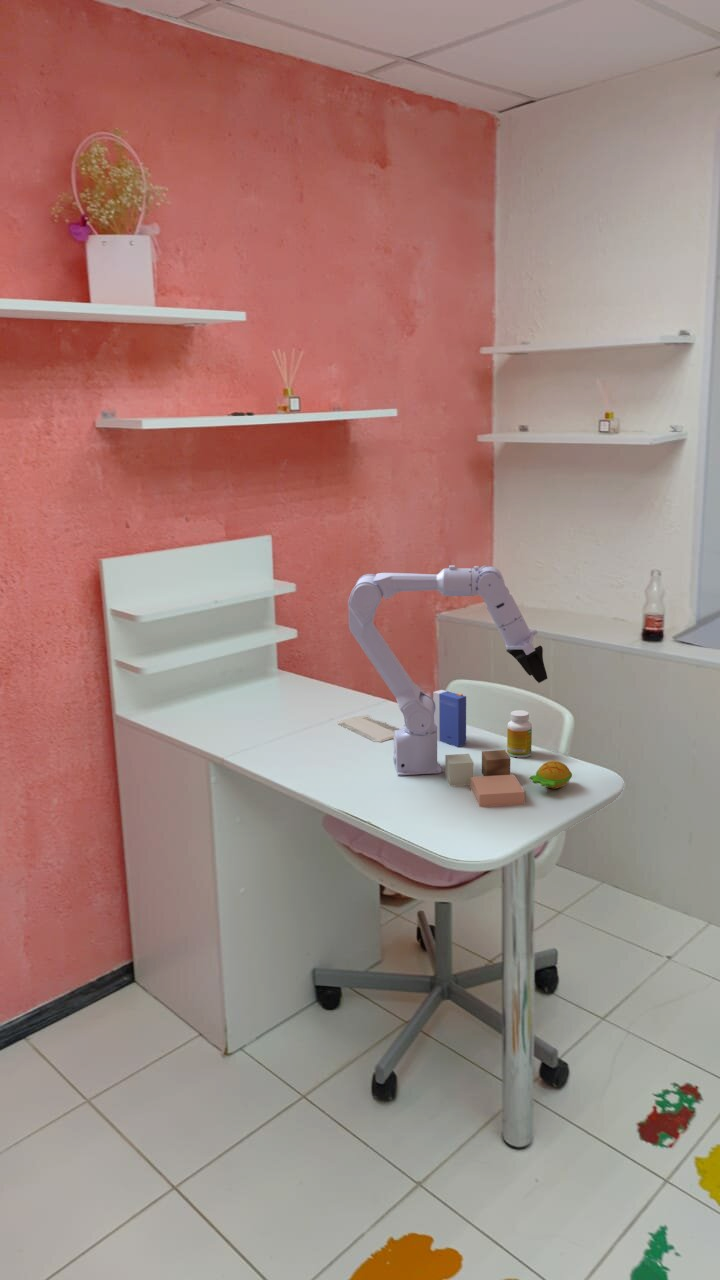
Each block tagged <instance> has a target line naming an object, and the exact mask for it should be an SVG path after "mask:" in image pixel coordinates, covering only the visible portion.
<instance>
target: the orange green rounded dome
mask: <svg viewBox="0 0 720 1280" xmlns="http://www.w3.org/2000/svg"><path fill="white" fill-rule="evenodd" d="M572 776H573V774H572V772H571V770H570V768H569V767H568V765H566V764H565V763H563V762H561V761H559V760H551V761H546V762H545V763H543V764H542V765H540V767H538V769H537V770H536V773H535V775H530V776H529V780H531V782H532V783H533V784H540V785H541V787H546V788H549V789H558V788H559V789H560V788H562V787H564V786H566V784H568V783H569V782H570V780H571V779H572Z"/></svg>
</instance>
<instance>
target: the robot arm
mask: <svg viewBox="0 0 720 1280" xmlns="http://www.w3.org/2000/svg"><path fill="white" fill-rule="evenodd" d="M421 591H422V592H423V591H425V592H426V591H437V592H439V593H440V594H441V595H442V596H443V597H475V596H477V595H478V596H479V597H481V598H482V599H483V601H484V603H485V604H486V609H487V611H488V613H489V615H490V616H491V618H492V620H493V622H494V625H495V626H496V628H497V630H498V633H499V634H500V636H501V637H502V640H503V642H504V643H505V648H506V652H507V653H508V654H510V655H511V656H512V657H514V659H515V660H516V661H517V662H518V663H519V665H520V666H521V668H522V669H523V670H524V671H525V672H526V674H527V675H528V676H532V677H533V679H534V680H535V681H536V682H537V683H538V684H540V683H542V682H544V681H546V680H548V673H547V670H546V667H545V664H544V658H543V656H544V655H543V652H544V649H543V646H542V645H538V646H536V647H534V645H533V640H534V637H535V635H538V631H537V629H532V630H530V628H529V627H528V625H527V622H526V620H525V618H524V616H523V614H522V612H521V610H520V609H519V606H518V604H517V603H516V601H515V599H514V597H513V595H512V594H511V593H510V590H509V588H508V586H506V584H505V580H504V577H503V575H502V572H501V571H500V570H499V569H498V568H497V567H495V566H490V565H487V564H486V565H483V566H481V567H480V566H479V565H474V566H473V567H472V568H469V567H467V568H465V567H463V568H461V567H457V568H456V565H454V564H453V565H449V566H448V567H446V568H442V569H441V570H440V571H439V572H438V573H436V574H432V573H429V574H428V573H405V572H380V573H376V574H374V573H367V574H363V575H362V576H360V577H359V578H358V579H357V581H356V583H355V585H354V587H353V588H352V590H351V592H350V595H349V597H348V600H347V606H348V629H349V631H350V634H351V635H352V636H353V637H354V639H355V641H356V642H357V644H358V645H359V646H360V648H361V649H362V651H363V652H364V654H365V656H366V657H367V658H368V659H369V661H370V663H371V664H372V665H373V667H374V668H375V670H376V671H377V673H378V674H379V676H380V677H381V679H382V680H383V682H384V683H385V685H386V686H387V687H388V688H389V690H390V692H391V693H392V695H393V696H394V698H395V699H396V702H397V704H398V705H397V706H398V708H399V710H400V712H401V713H402V716H403V720H404V721H403V722H404V725H403V728H400V729H401V730H395V731H394V739H393V758H392V759H393V765H394V768H395V771H396V773H397V776H411V775H412V776H414V775H430V774H431V775H432V774H442V769H441V768H442V767H440V764H439V761H438V741H437V726H436V725H435V723H434V713H435V709H436V706H435V702H434V700H433V697H432V696H430V695H429V694H427V693H425V692H423V690H422V689H421V687H420V686H419V685H417V683H415V682H414V681H413V680H412V678H411V676H410V674H408V672H407V671H406V670H405V667H404V666H403V665H402V664H401V662H400V661H399V659H398V658H397V656H396V655H395V653H394V652H393V650H392V649H391V648H390V646H389V645H388V643H387V642H386V640H385V639H384V637H383V635H382V634H381V632H380V631H379V630H378V628H377V627H376V625H375V623H374V621H375V616H376V612H377V610H378V607H379V606H380V604H381V601H382V599H383V596H384V600H385V601H387V600H389V599H390V598H392V597H393V596H395V595H396V594H397V593H400V592H421Z"/></svg>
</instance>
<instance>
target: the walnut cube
mask: <svg viewBox="0 0 720 1280" xmlns="http://www.w3.org/2000/svg"><path fill="white" fill-rule="evenodd" d="M481 774H482V776H496V775H511V756H510V755H508V754H507V750H506V749H499V750H482V751H481Z"/></svg>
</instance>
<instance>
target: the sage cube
mask: <svg viewBox="0 0 720 1280" xmlns="http://www.w3.org/2000/svg"><path fill="white" fill-rule="evenodd" d="M444 757H445V758H444V759H445V761H444V762H445V765H444V766H445V767H444V769H445V778H446V781H447V784H448V785H449V787H452V786H453V787H457V786H471V777H474V761H473V758H472V757H471V755H470V753H459V754H445V756H444Z"/></svg>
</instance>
